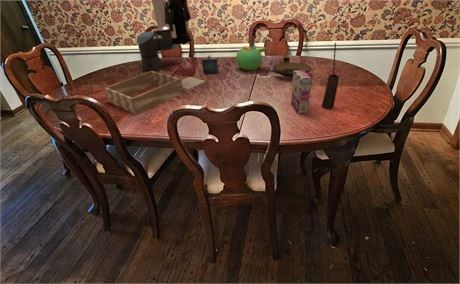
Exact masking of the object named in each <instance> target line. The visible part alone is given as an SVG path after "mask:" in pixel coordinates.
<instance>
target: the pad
mask: <svg viewBox="0 0 460 284" xmlns="http://www.w3.org/2000/svg"><path fill="white" fill-rule="evenodd" d="M181 82H182V88H183V90H185V91H190V90H192V89H194V88H196V87H198V86H201V85H203V84H205V83H207V82H206V80H202V79H199V78H195V77H191V76H188V77H185V78H183V79H181Z"/></svg>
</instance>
